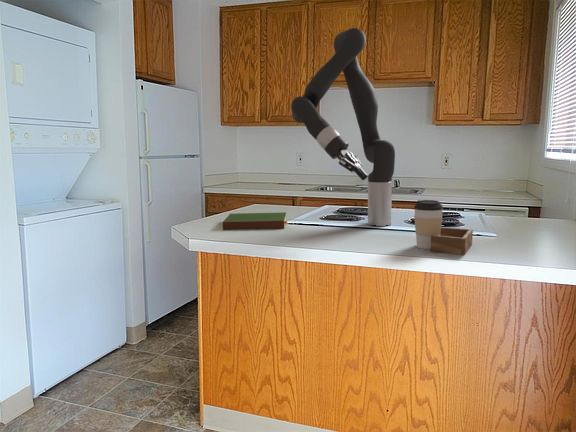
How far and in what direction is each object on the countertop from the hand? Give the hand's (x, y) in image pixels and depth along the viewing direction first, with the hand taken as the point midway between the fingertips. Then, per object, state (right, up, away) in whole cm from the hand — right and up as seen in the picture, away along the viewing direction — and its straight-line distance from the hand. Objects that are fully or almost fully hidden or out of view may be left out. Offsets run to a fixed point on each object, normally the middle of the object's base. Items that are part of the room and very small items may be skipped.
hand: (365, 178), depth 159 cm
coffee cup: (+19, -23, -7) cm, 30 cm away
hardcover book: (-39, -17, +35) cm, 55 cm away
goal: (+25, -23, -10) cm, 36 cm away
